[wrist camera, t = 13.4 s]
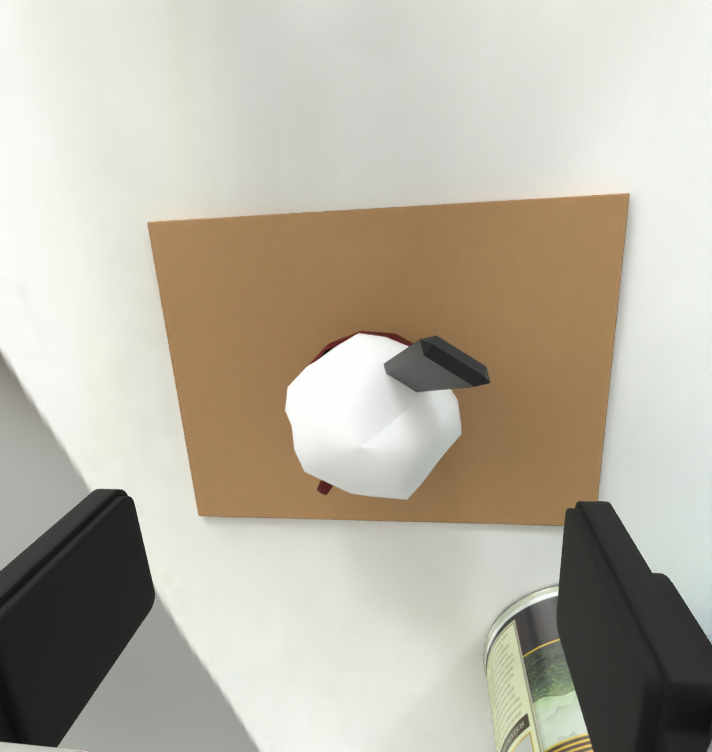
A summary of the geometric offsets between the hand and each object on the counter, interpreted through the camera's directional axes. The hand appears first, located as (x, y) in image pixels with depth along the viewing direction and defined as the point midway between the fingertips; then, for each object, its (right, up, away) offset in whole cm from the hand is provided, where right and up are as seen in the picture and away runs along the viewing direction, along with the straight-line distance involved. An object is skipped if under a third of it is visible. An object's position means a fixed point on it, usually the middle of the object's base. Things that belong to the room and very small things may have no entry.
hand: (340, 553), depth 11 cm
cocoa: (+2, +4, +12) cm, 13 cm away
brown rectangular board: (+1, +4, +13) cm, 13 cm away
